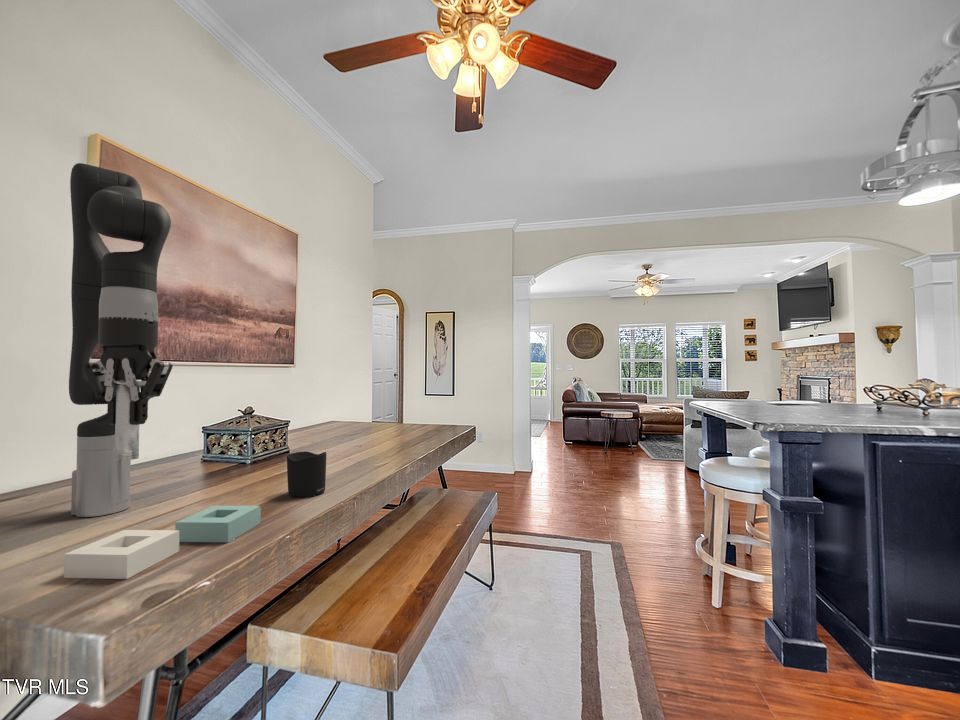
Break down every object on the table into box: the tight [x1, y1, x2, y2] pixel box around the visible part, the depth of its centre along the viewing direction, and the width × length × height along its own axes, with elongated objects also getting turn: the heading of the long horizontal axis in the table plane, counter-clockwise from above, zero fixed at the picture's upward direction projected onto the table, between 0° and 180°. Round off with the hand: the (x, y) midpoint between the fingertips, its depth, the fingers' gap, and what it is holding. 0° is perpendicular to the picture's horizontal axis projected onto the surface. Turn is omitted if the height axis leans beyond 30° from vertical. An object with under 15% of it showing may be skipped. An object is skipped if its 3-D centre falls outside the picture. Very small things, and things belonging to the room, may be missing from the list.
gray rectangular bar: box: [115, 385, 141, 461], centre depth 69 cm, size 3×3×12 cm
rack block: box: [174, 505, 262, 543], centre depth 82 cm, size 10×10×4 cm
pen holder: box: [286, 451, 327, 499], centre depth 109 cm, size 9×9×10 cm
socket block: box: [63, 529, 180, 580], centre depth 68 cm, size 10×10×4 cm
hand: (127, 423), depth 69 cm, fingers closed on gray rectangular bar, 3 cm apart
